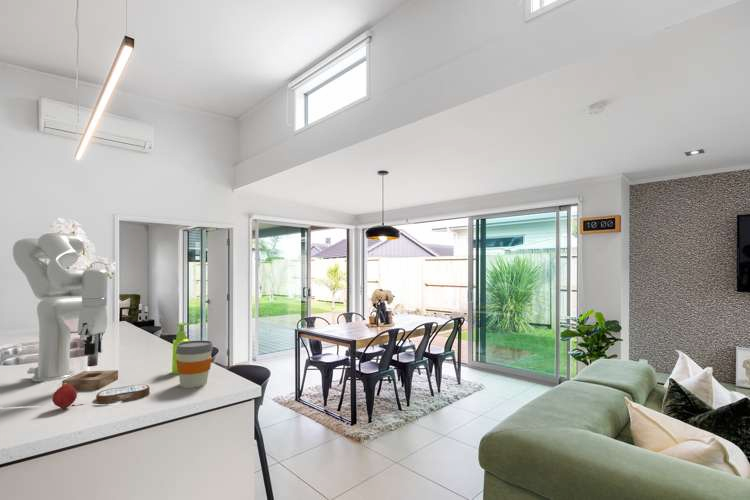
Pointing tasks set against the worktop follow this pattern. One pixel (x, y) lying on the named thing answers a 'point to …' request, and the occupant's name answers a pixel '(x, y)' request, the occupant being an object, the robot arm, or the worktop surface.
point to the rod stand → (92, 379)
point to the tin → (122, 394)
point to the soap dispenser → (180, 338)
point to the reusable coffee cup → (193, 362)
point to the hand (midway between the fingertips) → (92, 352)
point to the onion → (64, 396)
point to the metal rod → (94, 358)
